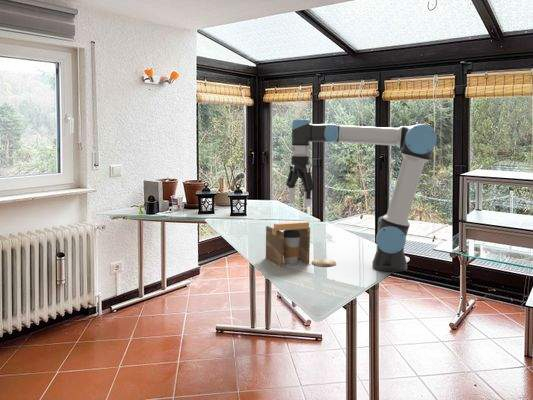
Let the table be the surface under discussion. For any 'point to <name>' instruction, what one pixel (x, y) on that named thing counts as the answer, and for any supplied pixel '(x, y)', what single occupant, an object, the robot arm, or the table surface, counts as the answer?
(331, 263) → the coaster
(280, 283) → the table surface
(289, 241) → the coffee cup
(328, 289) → the table surface
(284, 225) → the orange notched bar
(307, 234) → the cradle
